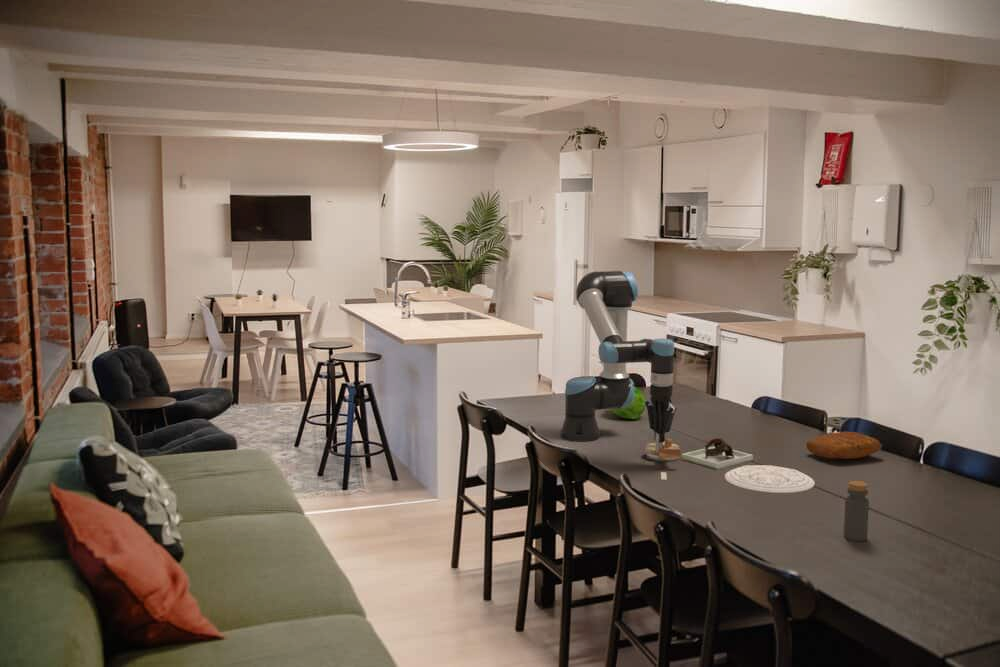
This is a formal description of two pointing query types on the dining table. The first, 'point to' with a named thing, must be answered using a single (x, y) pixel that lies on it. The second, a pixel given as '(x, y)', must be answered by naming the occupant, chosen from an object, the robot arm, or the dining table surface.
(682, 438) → the dining table surface
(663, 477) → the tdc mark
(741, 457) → the tray
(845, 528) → the bottle
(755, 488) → the ceiling medallion
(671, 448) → the crank
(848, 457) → the bread loaf
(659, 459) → the crank housing
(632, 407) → the lettuce
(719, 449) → the pottery mug
